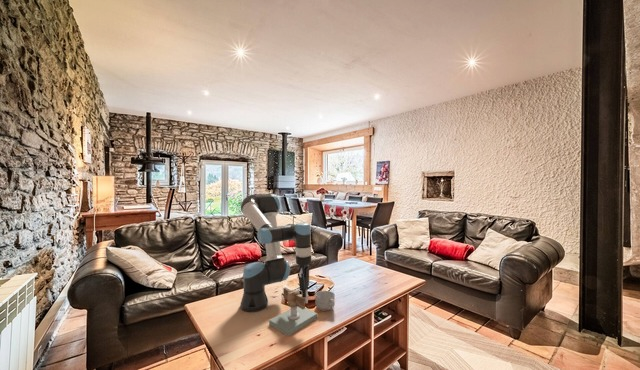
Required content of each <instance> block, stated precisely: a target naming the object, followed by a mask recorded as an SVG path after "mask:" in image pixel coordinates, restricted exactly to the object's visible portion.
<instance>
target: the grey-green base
mask: <svg viewBox="0 0 640 370" xmlns="http://www.w3.org/2000/svg"><path fill="white" fill-rule="evenodd" d="M318 316H319V315H318V312H315V311H313V310H311V309H309V308H306V307H305V309H303V310H302V309H301V308H299V307H298V306H297V307H290V309H288V310H286V311H284V312H282V313H280V314H278V315H276V316H274V317H273V318H270V319H269V321H268V324H269V326H271V327H272V328H274V329H275V330H278V331H279V332H281V333H283V334H285V335H286V336H288V337H289V336H291V335H292V334H294V333H296V332H298V331H299V330H301V329H302V328H304V327H306V326H307V325H309V324H311V323H312V322H314V321H315V320H317V319H318V318H319V317H318Z"/></svg>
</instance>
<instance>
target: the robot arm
mask: <svg viewBox="0 0 640 370" xmlns="http://www.w3.org/2000/svg"><path fill="white" fill-rule="evenodd" d="M280 208H281V203H280V199H279V197H278V195H276V194H275V193H258V194H250V195H247V196H246V197H244V198H243V200H242V202H241V204H240V212H242V214H243V216H245V217H247V218H248V219H249V221H250V223H251V224H252V225H253V227H254V228H255V229H256V230H257V234H256V235H257V240H258V242H259V244H261V245H263V244H265V252H266V259H265V260H264V262H262V261H255V262H250V263H248V264H247V265H245V266H244V267H243V272H242V273H243V275H242V277H243V278H242V279H243V293H242V297H241V301H240V309H241V310H242V311H243V312H246V313H247V312H248V313H255V312H259V311H262V310H264V309H266V308H267V307H268V305H269V299H268V297H267V294H266V291H265V286H268V285H273V284H276V283H282V282H284V281H286V280H287V279H288V278H289V276H290V273H291V269H290V264H289V261H288V260H287V259H285V256H284V255H282V250H281V244H280V242H285V241H295V242H294V243H295V248H294V250H295V264H297V265H298V266H299V268H298V273H297V278H298V284H299V292H301V296H302V297H304V298H305V304H308V303H309V296H308V294H309V292H308V290H309V289H310V268H311V265H310V264H312V242H311V241H312V239H311V237H312V233H311V232H312V230H311V224H310V223H308V222H298V223H296V224H293V223H287V224H285V225H281V226H279V225H278V223H277V215H278V212H279V211H280V210H281V209H280Z"/></svg>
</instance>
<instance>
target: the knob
mask: <svg viewBox="0 0 640 370" xmlns="http://www.w3.org/2000/svg"><path fill="white" fill-rule="evenodd" d="M282 290H283V291H282V293H283V297H282V298H283V299H285V300H287V306H288V307H290V308H291V307H297V306H298V307H299V308H301V309H302V310H303V309H305V308H306V303H305V298H304V297H302V295H300V292H301V291H300V290H298V289H289V288H288V287H283V289H282Z"/></svg>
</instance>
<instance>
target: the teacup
mask: <svg viewBox="0 0 640 370" xmlns="http://www.w3.org/2000/svg"><path fill="white" fill-rule="evenodd" d="M314 295H315V303H314V304H315V307H317V309H318V310H320V311H323V312H324V311H326V312H327V311H330V310H332V309H333V308H334V306H335V296H336V295H335V293H334V292H332V291H330V290H319V291H317V292H315V294H314Z"/></svg>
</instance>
